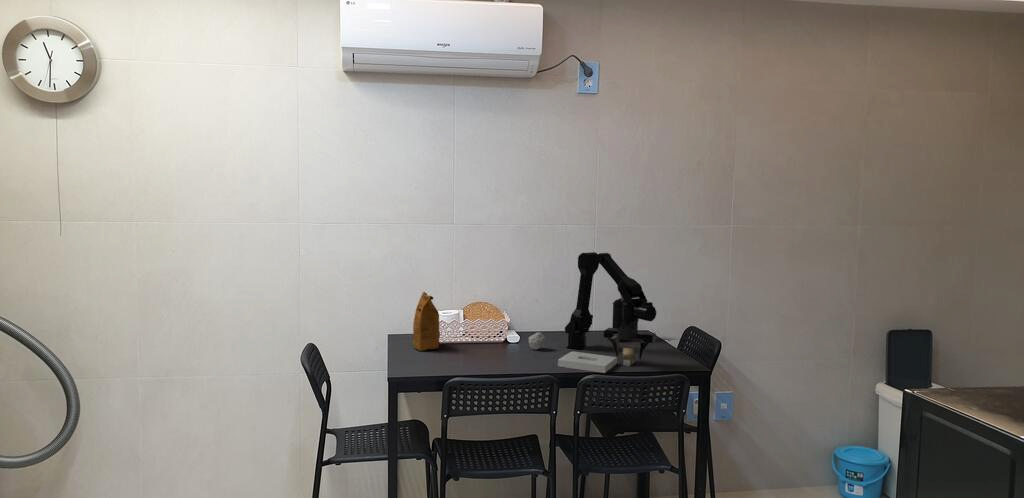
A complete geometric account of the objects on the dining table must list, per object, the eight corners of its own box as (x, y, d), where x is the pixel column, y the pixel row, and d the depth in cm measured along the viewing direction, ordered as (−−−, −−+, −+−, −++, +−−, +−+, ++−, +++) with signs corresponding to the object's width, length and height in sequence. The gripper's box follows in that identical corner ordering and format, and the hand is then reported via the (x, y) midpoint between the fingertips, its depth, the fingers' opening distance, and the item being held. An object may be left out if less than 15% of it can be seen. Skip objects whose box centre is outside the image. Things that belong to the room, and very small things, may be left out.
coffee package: (434, 343, 295) (434, 290, 292) (441, 350, 283) (441, 295, 281) (410, 344, 292) (410, 291, 289) (416, 352, 280) (416, 296, 277)
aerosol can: (618, 343, 300) (620, 296, 298) (607, 338, 308) (608, 292, 306) (634, 341, 304) (636, 294, 302) (623, 337, 312) (624, 291, 309)
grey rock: (542, 352, 283) (542, 334, 282) (525, 350, 285) (525, 333, 285) (546, 348, 289) (547, 331, 288) (530, 347, 291) (530, 330, 290)
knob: (632, 366, 264) (633, 349, 263) (620, 365, 266) (620, 348, 265) (637, 363, 269) (637, 346, 269) (624, 361, 271) (625, 344, 271)
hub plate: (557, 366, 263) (558, 359, 263) (571, 357, 275) (571, 351, 275) (604, 372, 255) (605, 366, 255) (616, 363, 268) (616, 357, 267)
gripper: (599, 317, 263) (598, 359, 264) (649, 323, 255) (647, 366, 256) (608, 312, 273) (607, 352, 274) (657, 317, 265) (655, 359, 266)
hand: (628, 357), depth 267 cm, fingers open, 8 cm apart
